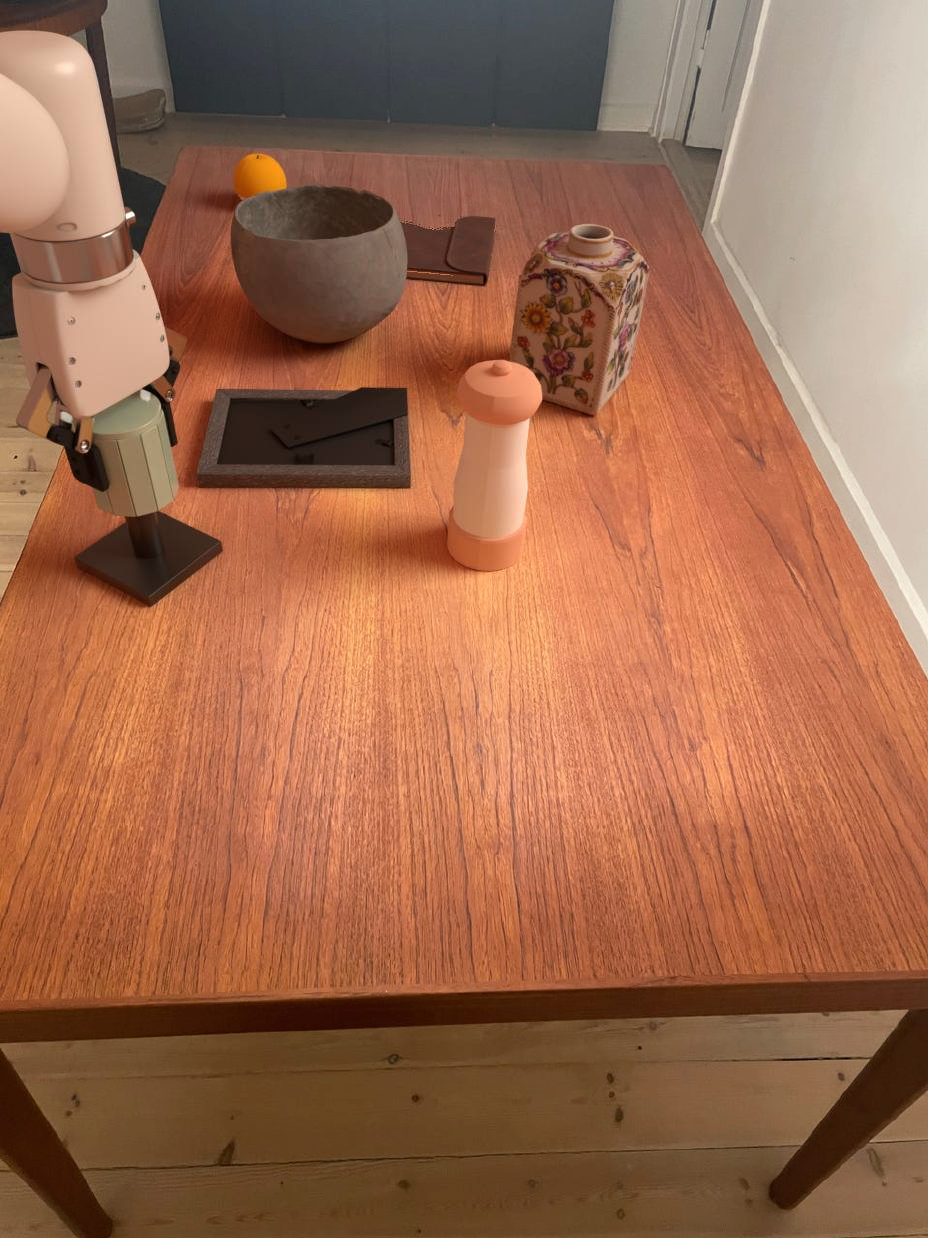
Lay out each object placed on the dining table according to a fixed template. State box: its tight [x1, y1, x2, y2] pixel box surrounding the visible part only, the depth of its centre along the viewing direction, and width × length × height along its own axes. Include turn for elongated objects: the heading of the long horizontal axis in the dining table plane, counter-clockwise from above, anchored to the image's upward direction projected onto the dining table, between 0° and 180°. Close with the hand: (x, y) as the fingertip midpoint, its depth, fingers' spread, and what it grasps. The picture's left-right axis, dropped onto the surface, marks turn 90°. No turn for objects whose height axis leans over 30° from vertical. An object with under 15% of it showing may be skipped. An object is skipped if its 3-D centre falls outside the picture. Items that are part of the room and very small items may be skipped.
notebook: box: [400, 215, 498, 287], centre depth 132 cm, size 15×20×2 cm
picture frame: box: [196, 386, 412, 489], centre depth 96 cm, size 16×2×21 cm
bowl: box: [230, 184, 407, 344], centre depth 109 cm, size 20×20×15 cm
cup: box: [71, 389, 180, 517], centre depth 75 cm, size 7×10×8 cm
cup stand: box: [73, 510, 224, 608], centre depth 79 cm, size 9×9×8 cm
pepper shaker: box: [446, 359, 543, 572], centre depth 79 cm, size 7×7×19 cm
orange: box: [232, 153, 288, 198], centre depth 139 cm, size 8×8×8 cm
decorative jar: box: [508, 223, 651, 417], centre depth 102 cm, size 12×12×18 cm
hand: (128, 460), depth 75 cm, fingers closed on cup, 6 cm apart
